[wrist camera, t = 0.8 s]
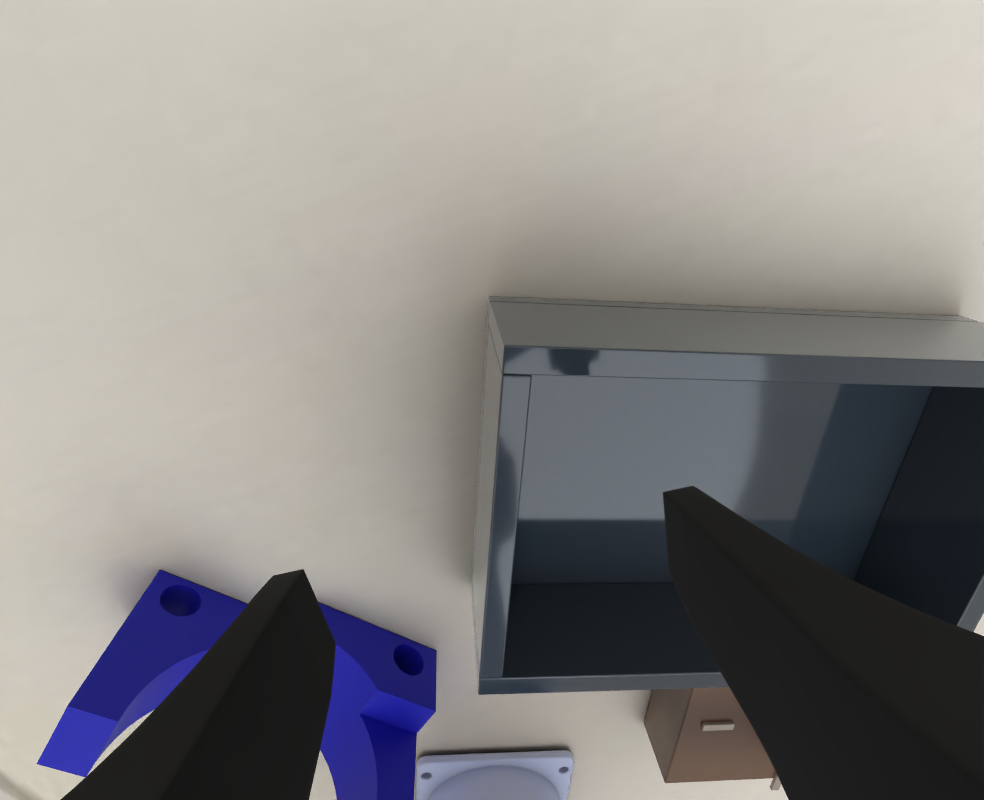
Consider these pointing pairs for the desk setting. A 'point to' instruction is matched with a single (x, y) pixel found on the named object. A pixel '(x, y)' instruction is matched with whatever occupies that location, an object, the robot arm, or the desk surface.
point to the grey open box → (710, 472)
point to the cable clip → (187, 638)
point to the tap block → (705, 737)
